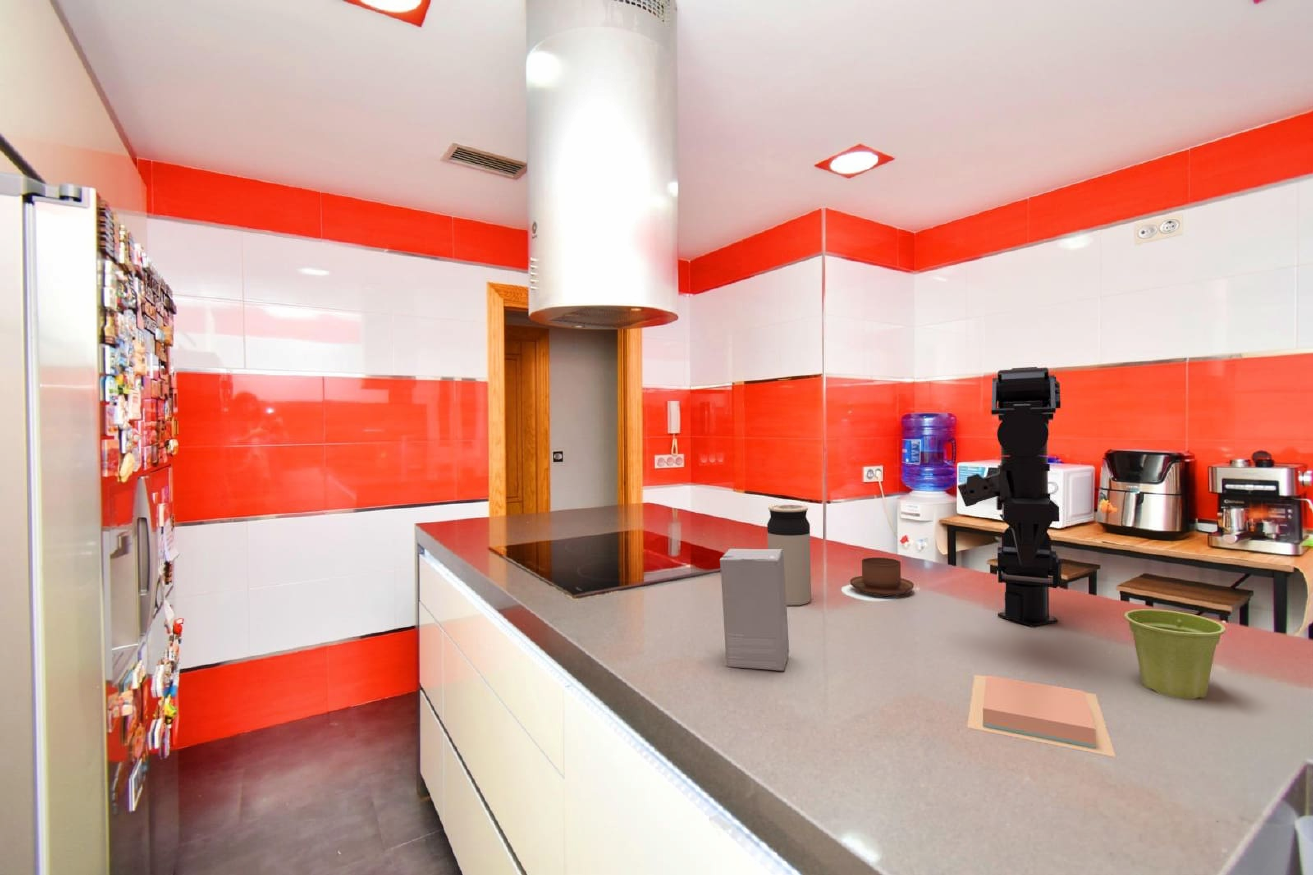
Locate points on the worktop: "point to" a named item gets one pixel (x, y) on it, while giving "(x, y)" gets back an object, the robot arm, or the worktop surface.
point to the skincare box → (755, 608)
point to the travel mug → (792, 549)
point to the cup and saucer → (881, 578)
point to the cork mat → (1100, 731)
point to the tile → (1038, 711)
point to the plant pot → (1174, 650)
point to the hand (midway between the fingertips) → (1025, 566)
